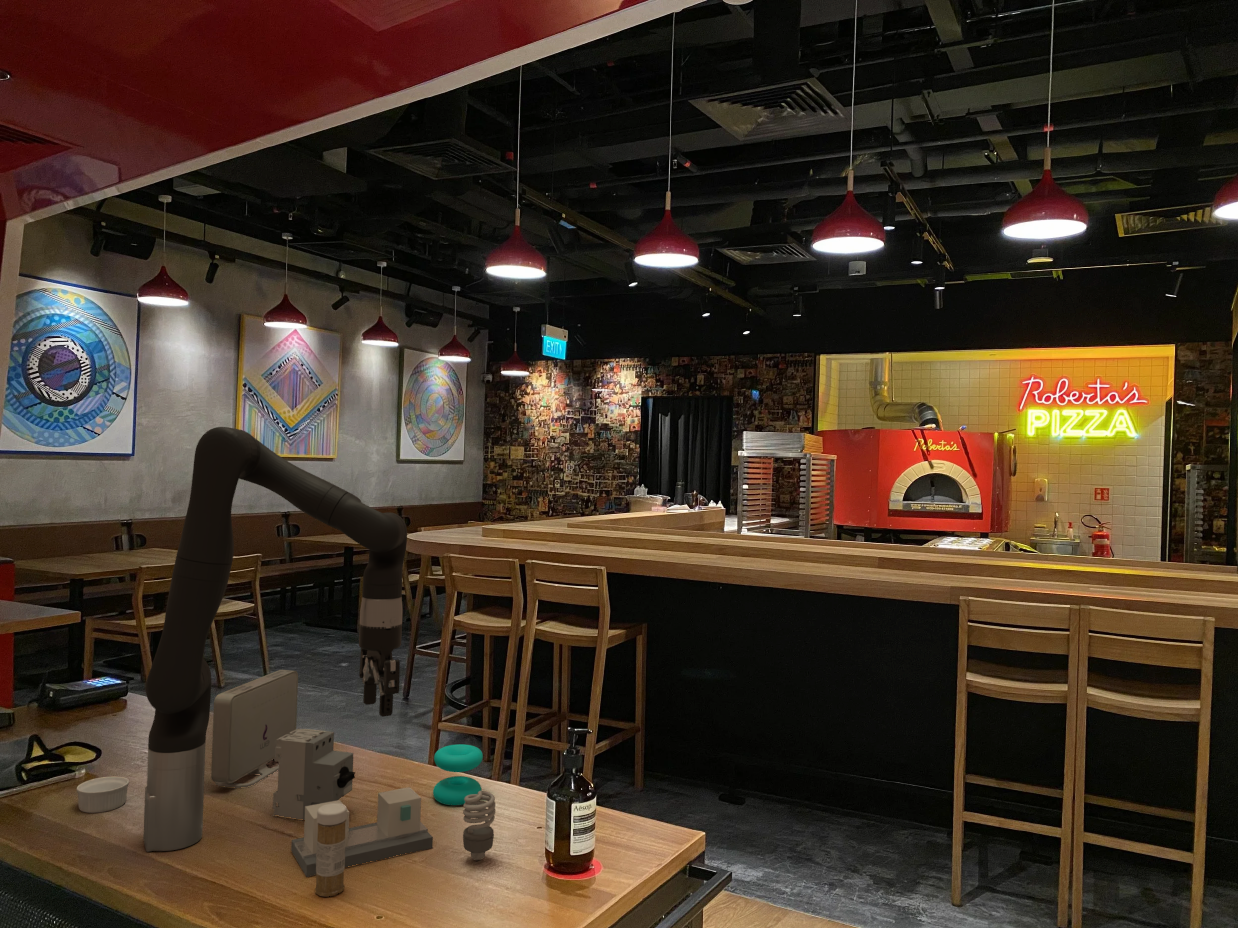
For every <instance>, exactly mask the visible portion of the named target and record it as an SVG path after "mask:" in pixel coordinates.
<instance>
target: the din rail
mask: <svg viewBox="0 0 1238 928" xmlns="http://www.w3.org/2000/svg"><path fill="white" fill-rule="evenodd" d="M425 832H429V828H428V827H426V825H425V824H424V823H423V822H421V821H420V831H417V832H412V833H408V834H403V835H398V836H394V837H389V838H387V836H386V835H385V834H384V833H383V832H382V831H381V829H380V828H379V827H378V826H372V827H367V828H362V829H358V830H353V831H349V837H348V847H345V850H347V849H352V848H356V847H361V846H365V845H370V844H375V843H379V842H384V841H388V840H393V839H397V838H402V837H407V836H411V835H416V834H420V833H425ZM295 846H296V848H297V850H298V851H299V853H300V855H301V856H302V858H303V859H306V858H311V857H315V856H316V854H312V853H311V851H310V849H309V848H308V846H307V845H306V843H305V842H304V841H300V842H295Z"/></svg>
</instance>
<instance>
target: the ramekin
mask: <svg viewBox="0 0 1238 928" xmlns="http://www.w3.org/2000/svg"><path fill="white" fill-rule="evenodd" d="M129 784H130V779H129V778H127V777H126V776H125V777H123V776H104V777H103V776H102V777H96V778H93V779H89V780H86V781H84V782H82V783H80V784H78V786H77V787H76V793H77V800H78V801H77V802H78V809H79V811H81V812H83V813H88V814H97V813H98V814H99V813H104V812H109V811H113V810H115V809H118V808H120V807H122V806H123V805H124V804H125V803H126V801H127V795H128V787H129Z"/></svg>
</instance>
